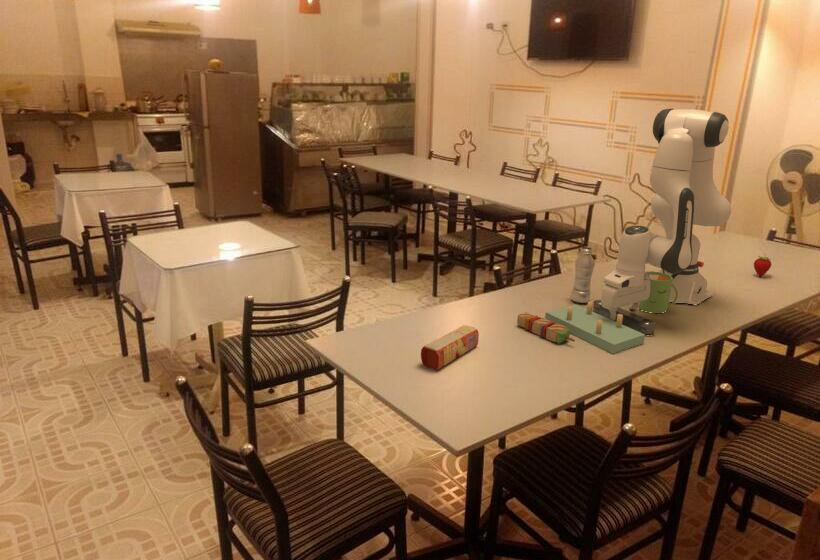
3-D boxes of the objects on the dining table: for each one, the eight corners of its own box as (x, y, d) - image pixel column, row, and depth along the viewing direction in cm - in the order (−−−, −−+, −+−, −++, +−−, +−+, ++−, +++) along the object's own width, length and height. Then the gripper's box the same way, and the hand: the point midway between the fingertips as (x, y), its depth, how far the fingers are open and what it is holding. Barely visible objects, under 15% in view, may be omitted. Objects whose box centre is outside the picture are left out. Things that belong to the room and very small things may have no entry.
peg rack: (574, 312, 207) (577, 293, 205) (643, 343, 185) (647, 322, 183) (544, 320, 200) (546, 300, 198) (612, 353, 178) (615, 332, 176)
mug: (633, 310, 210) (639, 278, 206) (638, 301, 219) (643, 269, 215) (673, 318, 204) (679, 284, 200) (676, 307, 213) (681, 275, 209)
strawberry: (747, 276, 247) (752, 252, 244) (756, 273, 251) (762, 250, 248) (762, 280, 243) (768, 256, 239) (771, 277, 247) (777, 253, 243)
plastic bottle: (573, 297, 221) (579, 244, 214) (591, 301, 218) (598, 247, 211) (567, 302, 216) (574, 248, 209) (586, 306, 212) (593, 252, 206)
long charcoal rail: (598, 309, 210) (599, 299, 209) (656, 334, 192) (658, 323, 190) (589, 312, 208) (591, 301, 207) (647, 337, 189) (649, 325, 188)
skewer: (513, 327, 195) (515, 313, 193) (527, 322, 199) (528, 308, 197) (566, 351, 180) (568, 335, 178) (579, 345, 184) (581, 330, 182)
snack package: (461, 341, 185) (463, 320, 182) (480, 347, 181) (481, 326, 179) (419, 366, 169) (419, 344, 167) (438, 373, 165) (439, 351, 163)
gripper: (641, 269, 202) (635, 307, 206) (600, 278, 191) (594, 319, 196) (658, 274, 197) (651, 313, 202) (616, 284, 186) (610, 326, 191)
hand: (623, 316), depth 199 cm, fingers open, 8 cm apart
